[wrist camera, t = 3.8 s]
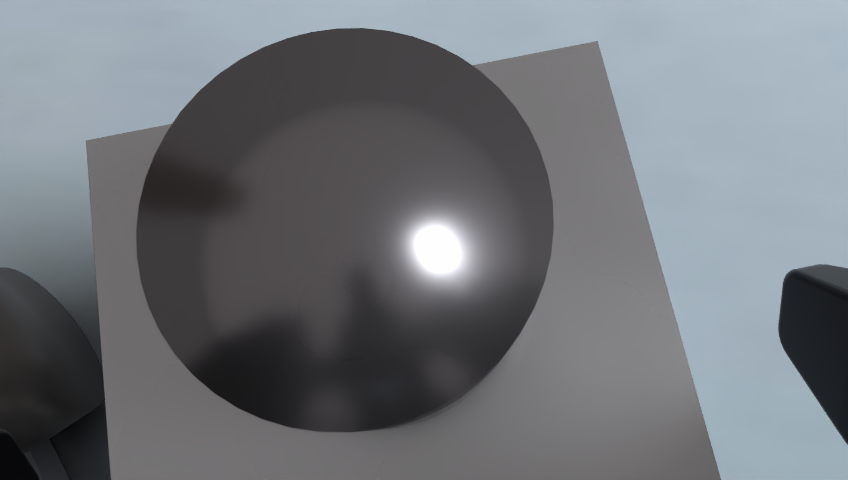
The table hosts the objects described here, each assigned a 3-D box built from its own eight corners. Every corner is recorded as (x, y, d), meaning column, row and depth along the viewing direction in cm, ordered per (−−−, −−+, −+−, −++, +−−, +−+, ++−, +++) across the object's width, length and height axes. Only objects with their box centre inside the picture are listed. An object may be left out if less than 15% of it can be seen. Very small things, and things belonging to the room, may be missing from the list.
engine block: (578, 517, 16) (919, 775, 4) (332, 565, 16) (-18, 964, 4) (518, 256, 17) (645, -91, 6) (294, 299, 17) (-43, 43, 6)
